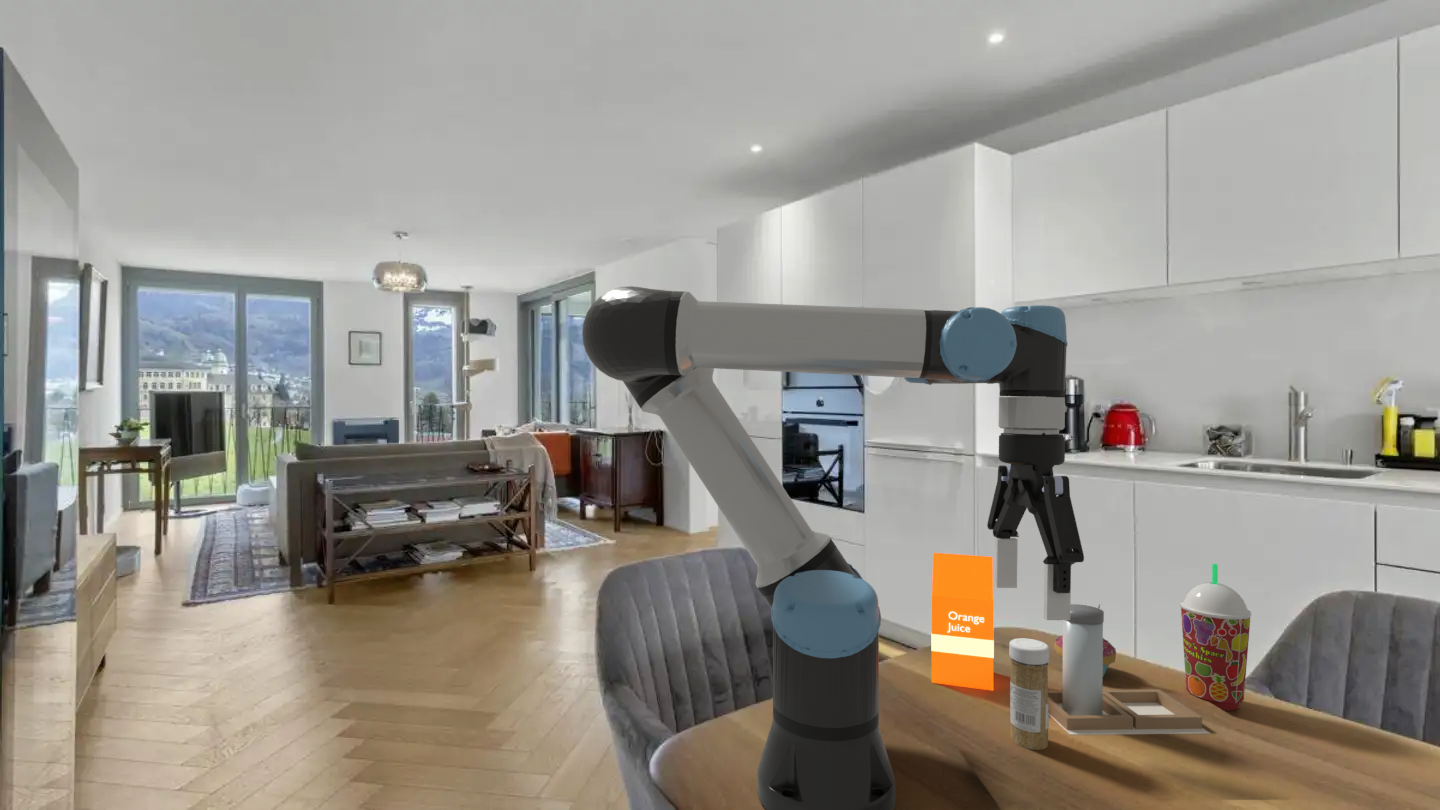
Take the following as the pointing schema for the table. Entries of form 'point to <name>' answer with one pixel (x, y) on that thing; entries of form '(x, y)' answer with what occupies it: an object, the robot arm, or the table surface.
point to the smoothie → (1215, 643)
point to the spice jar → (1029, 693)
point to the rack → (1129, 714)
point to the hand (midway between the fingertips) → (1029, 602)
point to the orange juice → (962, 621)
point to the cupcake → (1108, 651)
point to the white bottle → (1083, 661)
